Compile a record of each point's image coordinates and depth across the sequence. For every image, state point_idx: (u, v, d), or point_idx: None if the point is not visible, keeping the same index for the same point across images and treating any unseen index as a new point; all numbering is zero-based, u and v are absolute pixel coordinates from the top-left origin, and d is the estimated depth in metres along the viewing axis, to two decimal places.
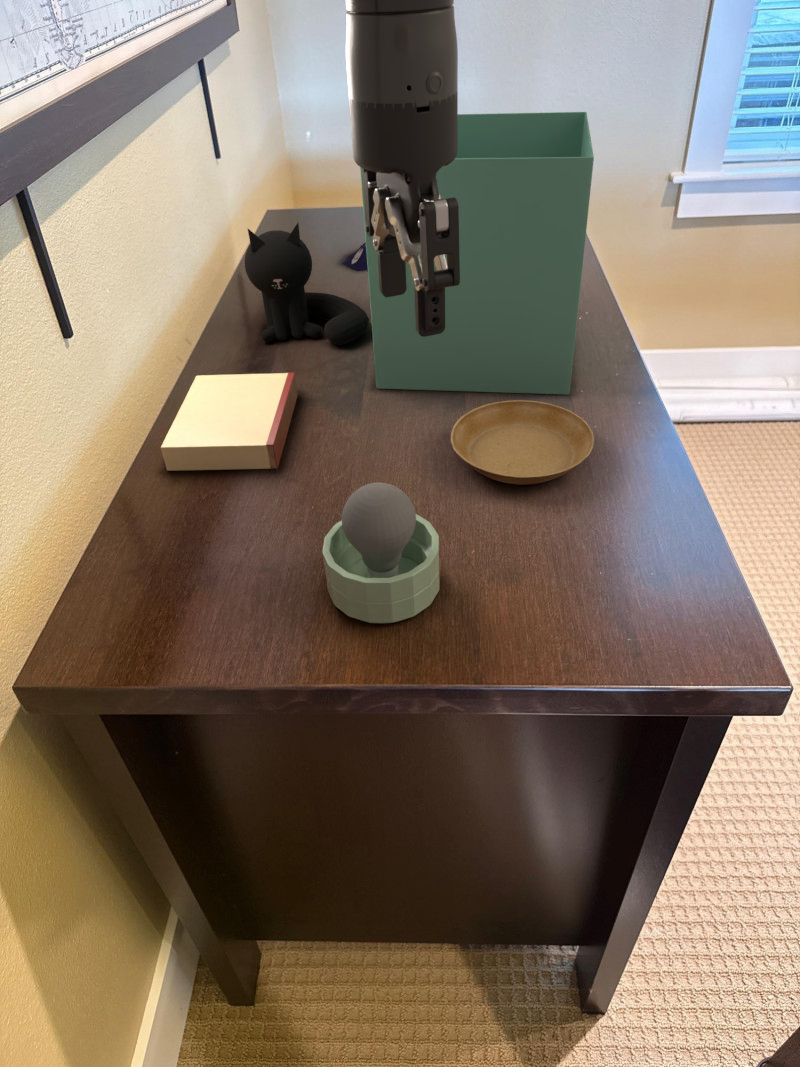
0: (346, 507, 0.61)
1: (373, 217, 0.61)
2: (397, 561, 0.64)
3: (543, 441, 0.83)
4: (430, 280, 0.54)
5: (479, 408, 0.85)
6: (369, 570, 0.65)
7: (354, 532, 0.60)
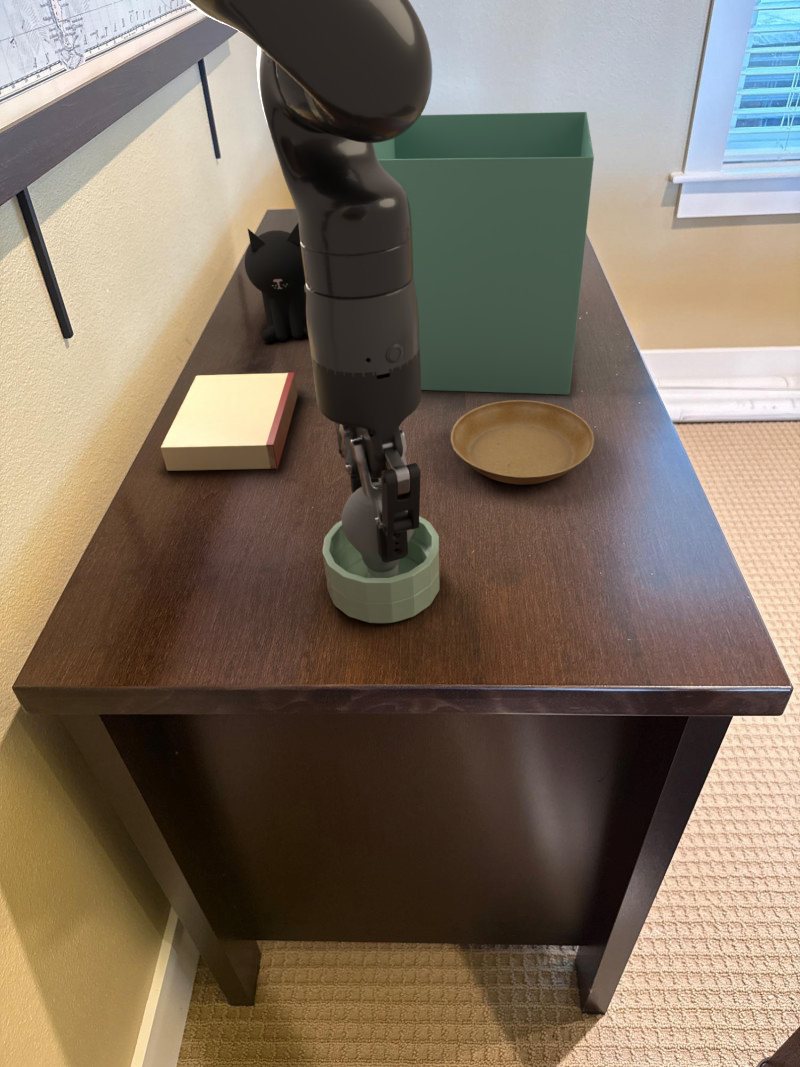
0: (346, 507, 0.61)
1: (342, 446, 0.60)
2: (397, 561, 0.64)
3: (543, 441, 0.83)
4: (390, 530, 0.55)
5: (479, 408, 0.85)
6: (369, 570, 0.65)
7: (354, 531, 0.60)
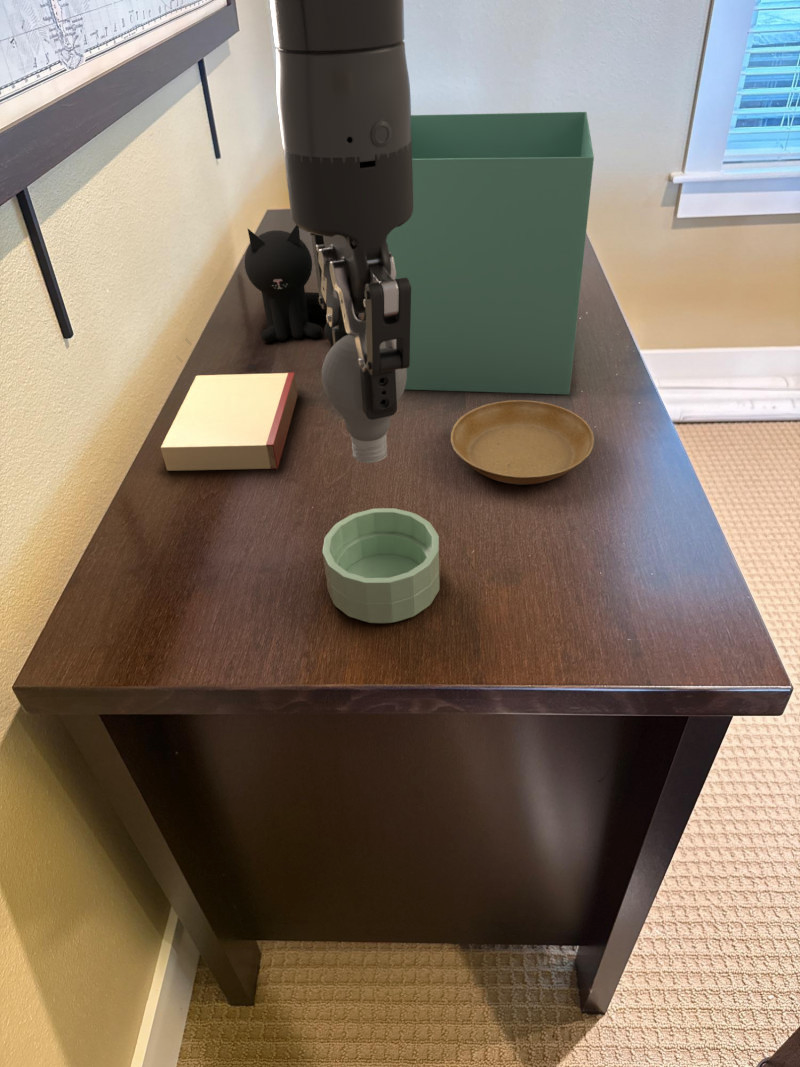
0: (326, 358, 0.53)
1: (322, 285, 0.52)
2: (385, 427, 0.56)
3: (543, 441, 0.83)
4: (375, 365, 0.47)
5: (479, 408, 0.85)
6: (353, 440, 0.57)
7: (335, 384, 0.52)
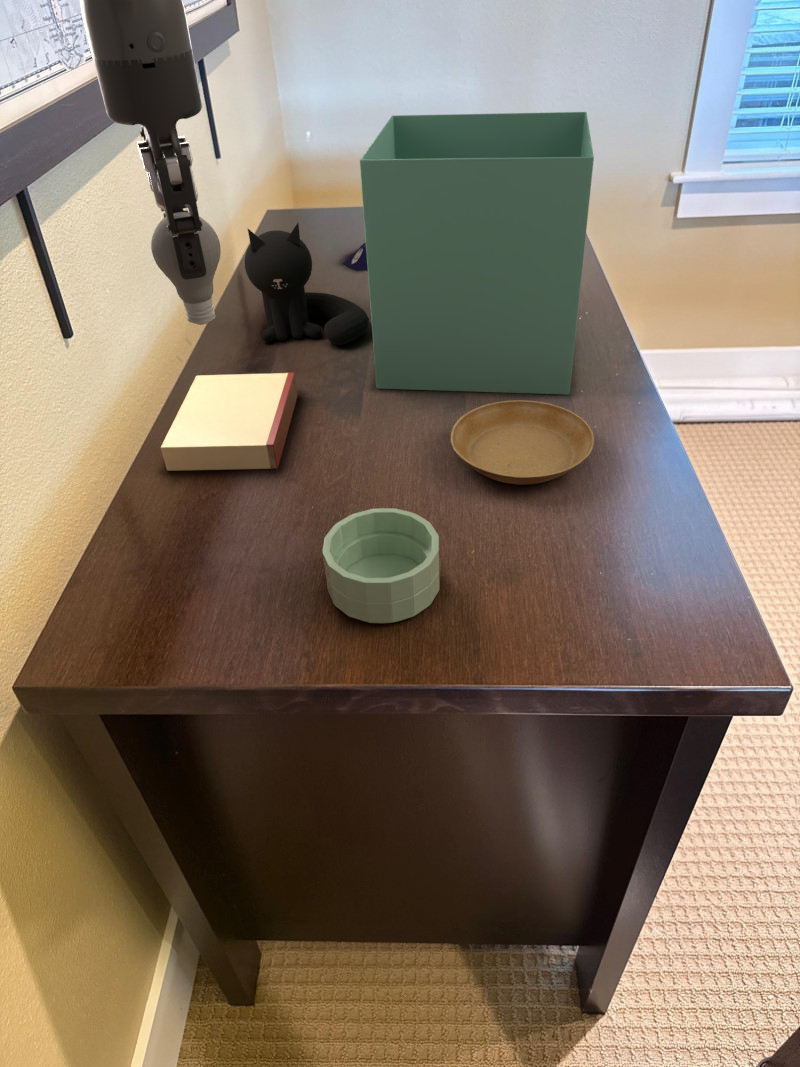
0: None
1: (147, 174, 0.67)
2: (207, 292, 0.71)
3: (543, 441, 0.83)
4: (172, 226, 0.62)
5: (479, 408, 0.85)
6: (184, 304, 0.72)
7: (158, 251, 0.67)
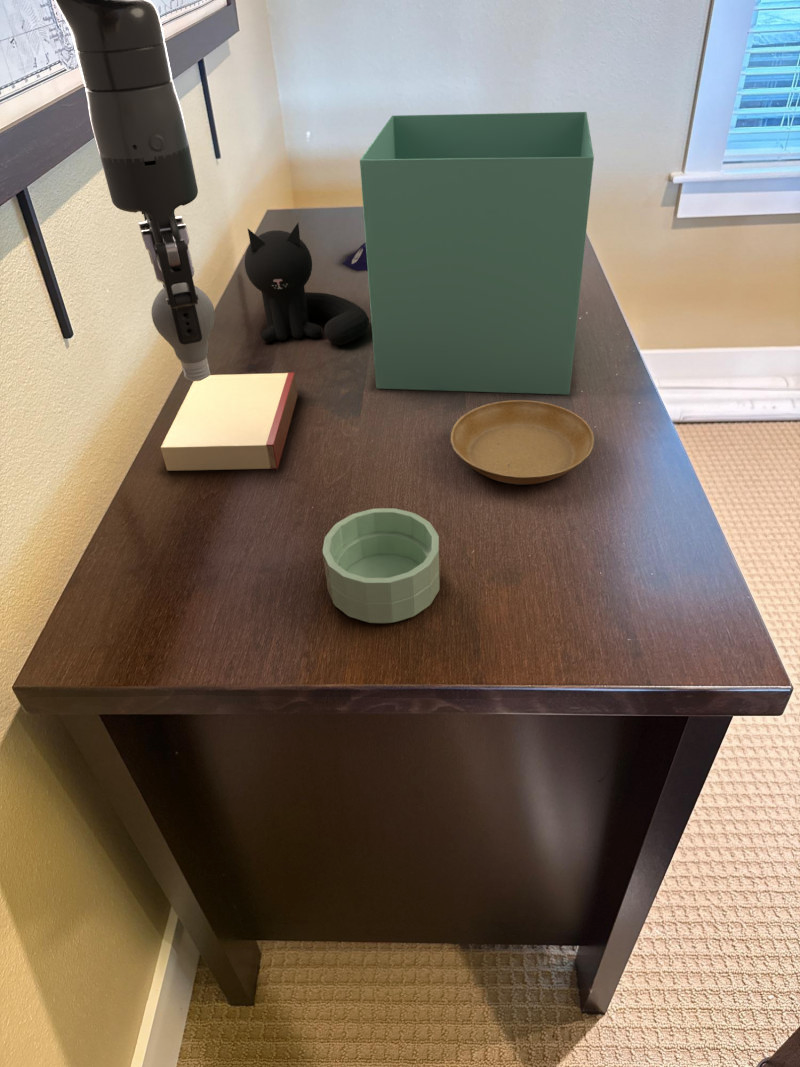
0: None
1: None
2: (202, 353, 0.77)
3: (543, 441, 0.83)
4: (171, 301, 0.69)
5: (479, 408, 0.85)
6: (182, 363, 0.78)
7: (157, 318, 0.74)
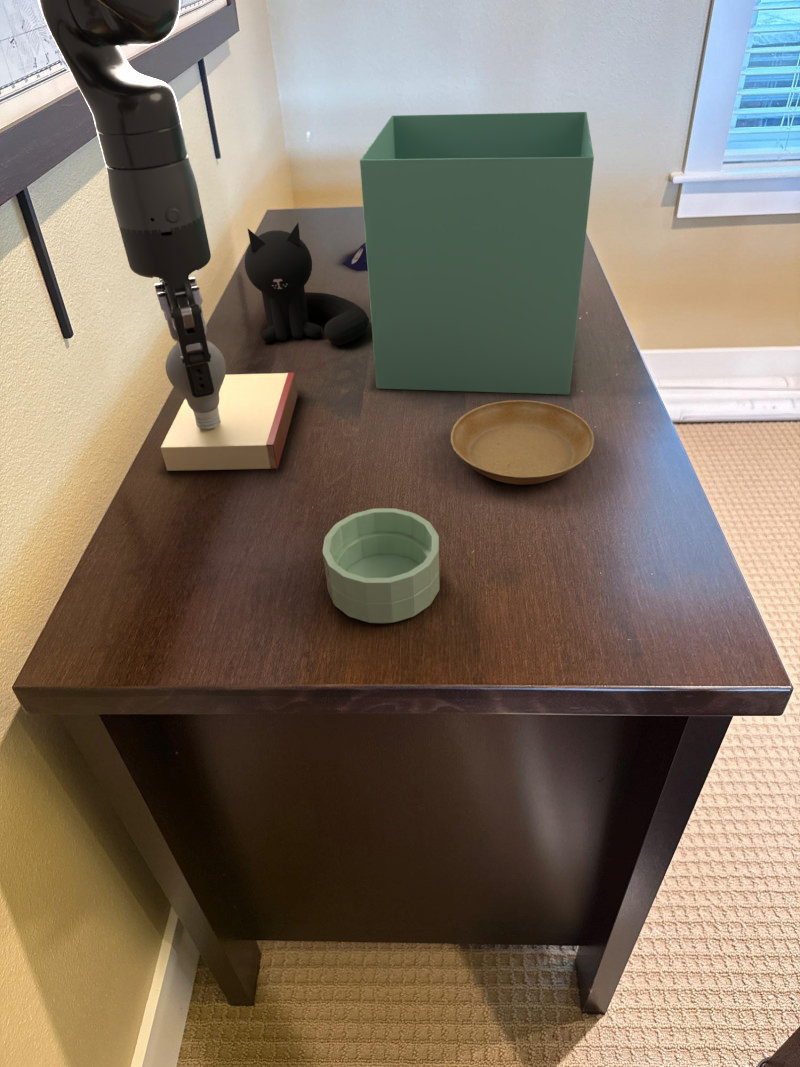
0: None
1: None
2: (214, 403, 0.81)
3: (543, 441, 0.83)
4: (185, 360, 0.72)
5: (479, 408, 0.85)
6: (194, 412, 0.82)
7: (171, 373, 0.77)
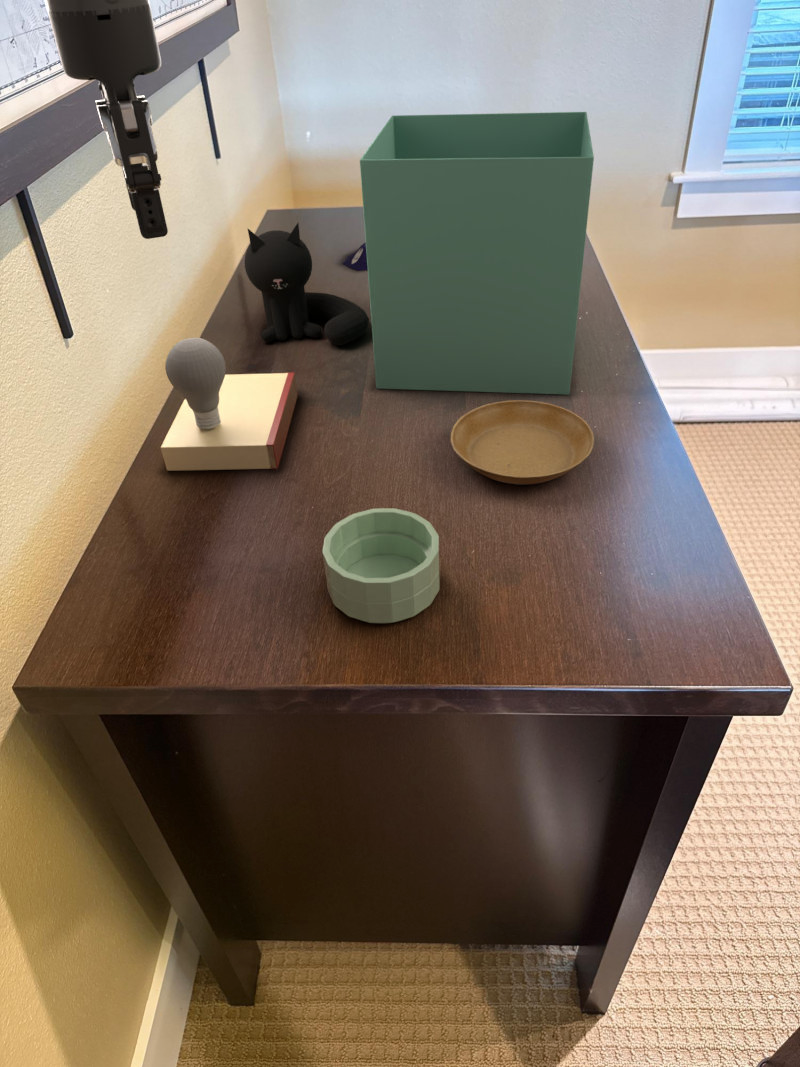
0: (167, 356, 0.78)
1: None
2: (214, 403, 0.81)
3: (543, 441, 0.83)
4: (129, 178, 0.60)
5: (479, 408, 0.85)
6: (194, 412, 0.82)
7: (171, 373, 0.77)
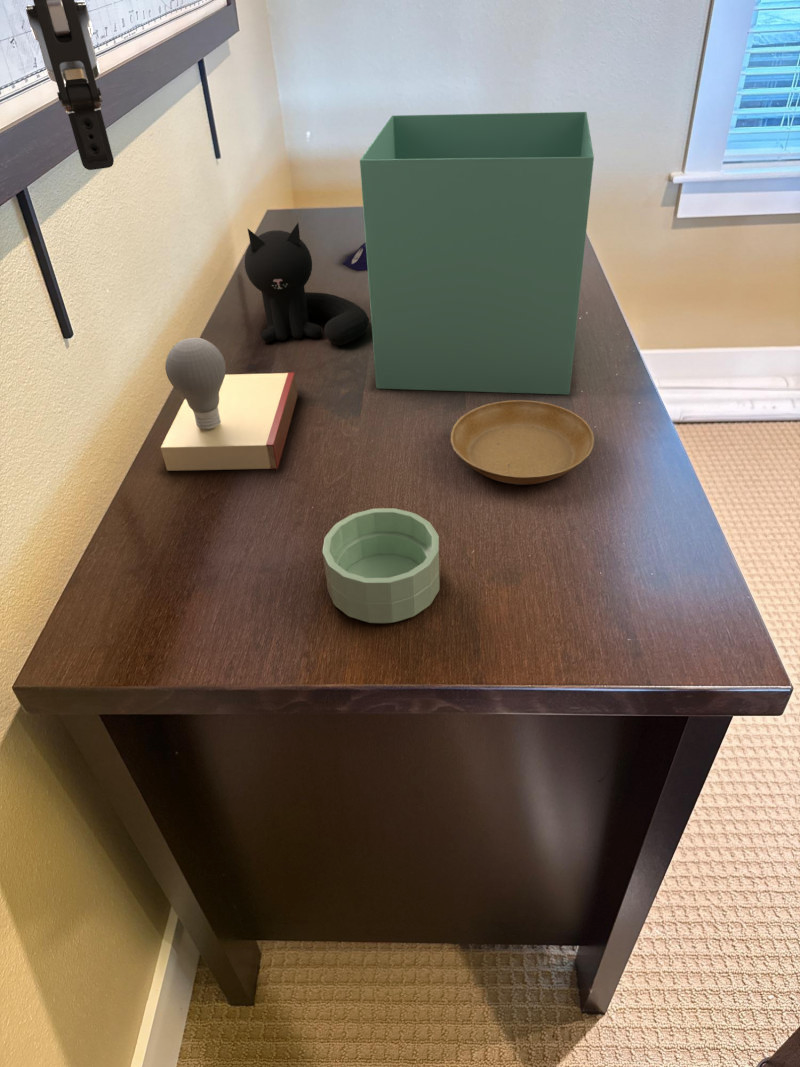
0: (167, 356, 0.78)
1: None
2: (214, 403, 0.81)
3: (543, 441, 0.83)
4: (61, 91, 0.51)
5: (479, 408, 0.85)
6: (194, 412, 0.82)
7: (171, 373, 0.77)
